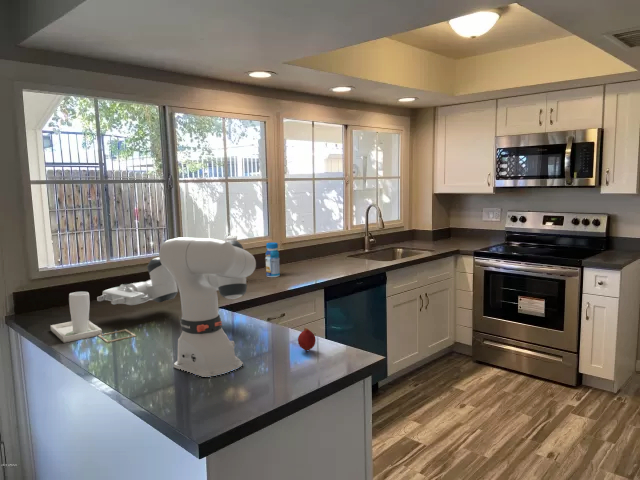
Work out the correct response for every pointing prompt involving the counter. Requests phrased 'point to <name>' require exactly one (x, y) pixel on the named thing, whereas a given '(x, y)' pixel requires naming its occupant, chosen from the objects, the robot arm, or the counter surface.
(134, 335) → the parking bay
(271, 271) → the beverage bottle
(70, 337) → the tray
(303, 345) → the onion
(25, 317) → the counter surface
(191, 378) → the counter surface
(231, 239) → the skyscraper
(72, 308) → the drinking glass
